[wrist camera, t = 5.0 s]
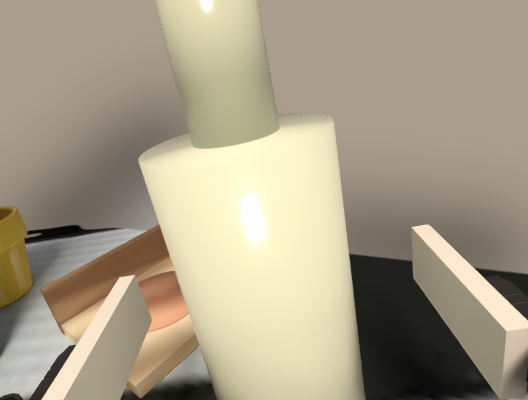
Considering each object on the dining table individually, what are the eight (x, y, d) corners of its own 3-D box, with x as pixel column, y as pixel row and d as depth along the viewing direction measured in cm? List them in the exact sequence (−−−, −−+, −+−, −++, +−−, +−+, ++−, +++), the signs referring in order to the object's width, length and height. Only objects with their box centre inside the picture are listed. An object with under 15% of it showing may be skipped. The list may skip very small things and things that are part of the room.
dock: (61, 331, 34) (39, 289, 32) (176, 257, 43) (164, 221, 42) (140, 398, 25) (117, 344, 23) (262, 286, 34) (252, 242, 33)
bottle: (217, 477, 19) (29, -29, 10) (290, 381, 24) (202, -22, 15) (331, 577, 15) (170, -157, 6) (393, 435, 20) (352, -90, 11)
